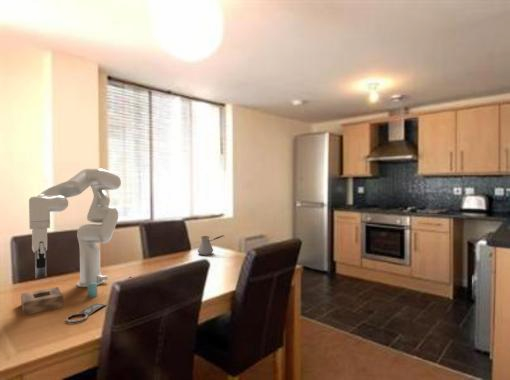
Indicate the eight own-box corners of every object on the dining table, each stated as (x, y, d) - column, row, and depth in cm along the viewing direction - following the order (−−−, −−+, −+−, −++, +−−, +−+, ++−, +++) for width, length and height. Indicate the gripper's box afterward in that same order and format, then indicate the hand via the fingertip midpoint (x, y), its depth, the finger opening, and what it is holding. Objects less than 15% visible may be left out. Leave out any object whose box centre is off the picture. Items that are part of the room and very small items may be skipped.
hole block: (58, 297, 153) (57, 287, 153) (63, 306, 142) (62, 295, 142) (21, 304, 144) (21, 293, 144) (23, 315, 133) (23, 303, 133)
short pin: (98, 294, 157) (97, 282, 157) (95, 297, 153) (95, 284, 153) (89, 294, 157) (89, 282, 157) (86, 297, 153) (86, 285, 153)
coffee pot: (194, 255, 237) (194, 234, 237) (202, 251, 248) (202, 232, 247) (221, 257, 230) (221, 236, 229) (227, 254, 241) (227, 233, 240)
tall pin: (48, 275, 145) (47, 246, 144) (43, 278, 141) (43, 248, 141) (38, 275, 144) (37, 246, 144) (33, 278, 140) (33, 248, 140)
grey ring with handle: (110, 306, 143) (110, 302, 143) (78, 326, 125) (78, 320, 125) (94, 305, 145) (94, 300, 145) (60, 324, 126) (60, 319, 126)
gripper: (27, 223, 146) (28, 264, 147) (31, 227, 133) (32, 272, 134) (47, 222, 151) (48, 261, 151) (52, 226, 138) (53, 269, 138)
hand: (40, 266), depth 142 cm, fingers closed on tall pin, 4 cm apart
